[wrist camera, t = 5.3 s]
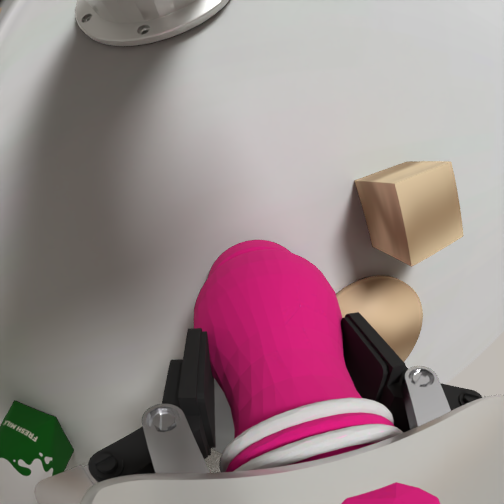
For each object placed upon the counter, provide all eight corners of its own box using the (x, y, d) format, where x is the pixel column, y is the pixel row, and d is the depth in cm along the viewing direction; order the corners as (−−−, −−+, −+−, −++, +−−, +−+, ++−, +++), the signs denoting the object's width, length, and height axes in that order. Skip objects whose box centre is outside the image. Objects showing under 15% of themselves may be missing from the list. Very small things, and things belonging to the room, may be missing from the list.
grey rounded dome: (192, 370, 20) (190, 405, 16) (293, 355, 21) (307, 387, 17) (212, 429, 22) (213, 462, 18) (295, 416, 23) (305, 447, 19)
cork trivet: (308, 282, 19) (311, 286, 18) (427, 269, 20) (432, 272, 19) (300, 396, 22) (302, 402, 21) (402, 372, 23) (406, 376, 22)
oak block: (353, 180, 18) (394, 183, 13) (406, 161, 18) (451, 161, 13) (371, 246, 19) (411, 266, 14) (420, 222, 19) (463, 236, 14)
